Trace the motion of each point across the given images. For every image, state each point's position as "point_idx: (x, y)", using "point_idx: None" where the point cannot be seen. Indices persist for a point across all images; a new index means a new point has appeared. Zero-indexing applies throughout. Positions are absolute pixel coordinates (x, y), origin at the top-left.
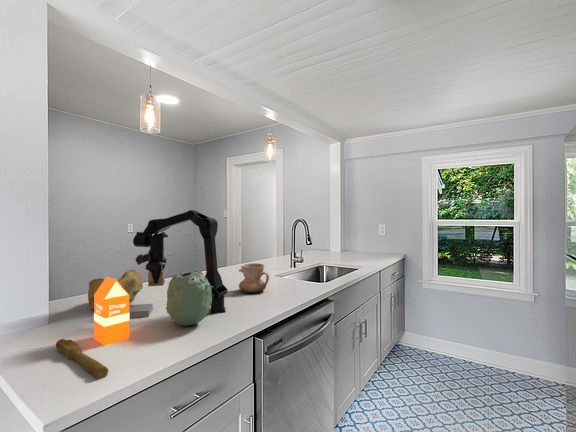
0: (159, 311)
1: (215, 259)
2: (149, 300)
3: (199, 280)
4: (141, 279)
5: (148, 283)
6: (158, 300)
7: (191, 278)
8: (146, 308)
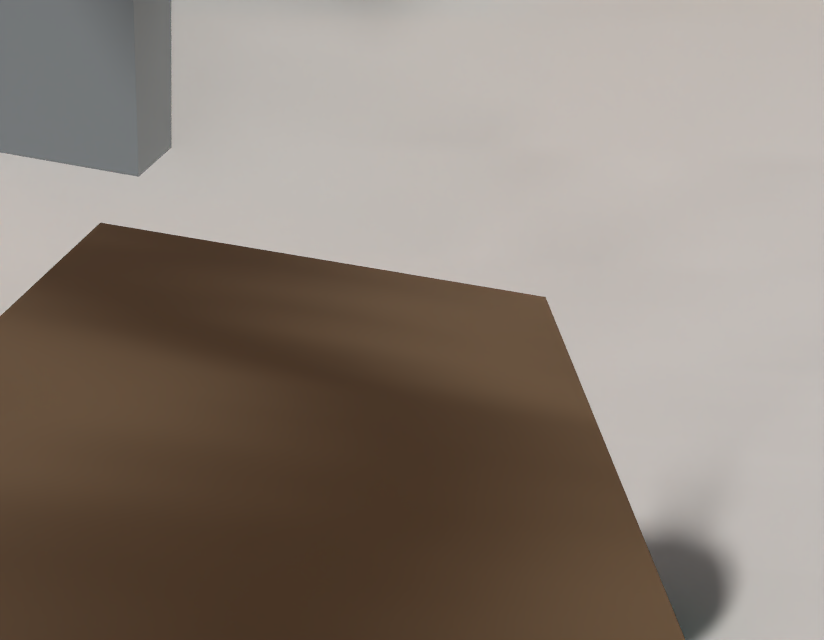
0: (43, 230)
1: None
2: (750, 113)
3: None
4: None
5: (52, 271)
6: (653, 245)
7: None
8: None
